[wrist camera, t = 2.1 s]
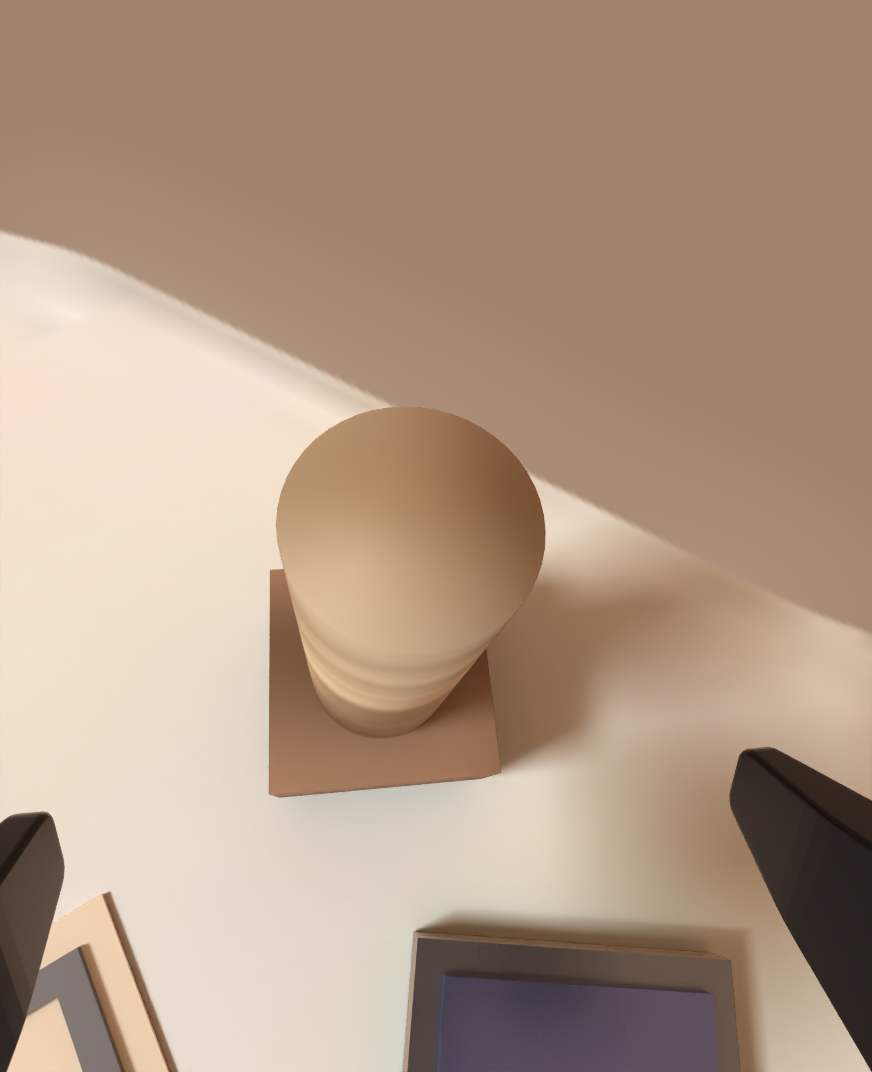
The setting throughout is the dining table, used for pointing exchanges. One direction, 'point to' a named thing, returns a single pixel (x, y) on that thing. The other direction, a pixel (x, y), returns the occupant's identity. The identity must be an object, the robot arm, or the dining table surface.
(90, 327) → the dining table surface
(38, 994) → the marked card
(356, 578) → the stamp
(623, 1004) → the ink pad
